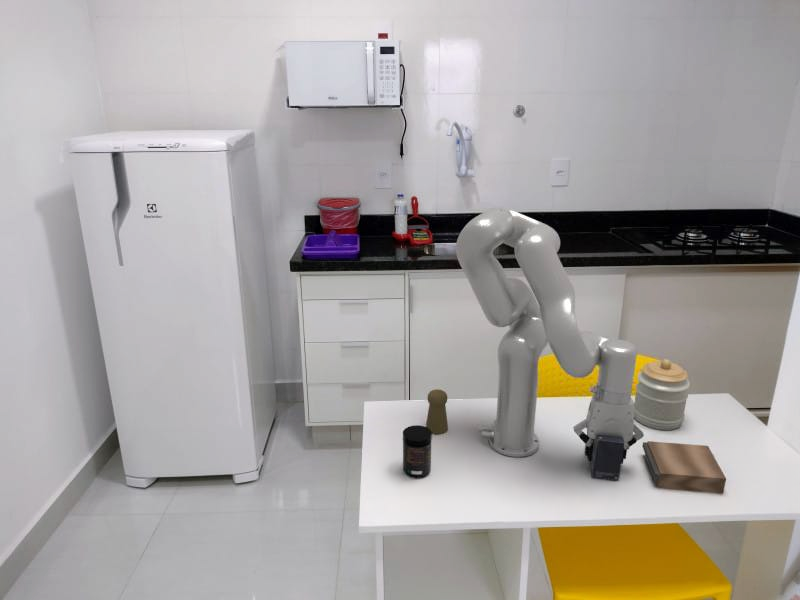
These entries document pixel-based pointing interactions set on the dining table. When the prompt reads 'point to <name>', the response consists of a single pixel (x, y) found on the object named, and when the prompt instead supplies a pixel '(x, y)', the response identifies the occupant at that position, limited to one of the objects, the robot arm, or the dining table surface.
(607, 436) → the small box
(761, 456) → the dining table surface
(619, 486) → the dining table surface
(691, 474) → the dock
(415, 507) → the dining table surface
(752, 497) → the dining table surface
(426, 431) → the supplement container
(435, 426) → the cork
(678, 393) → the jar
